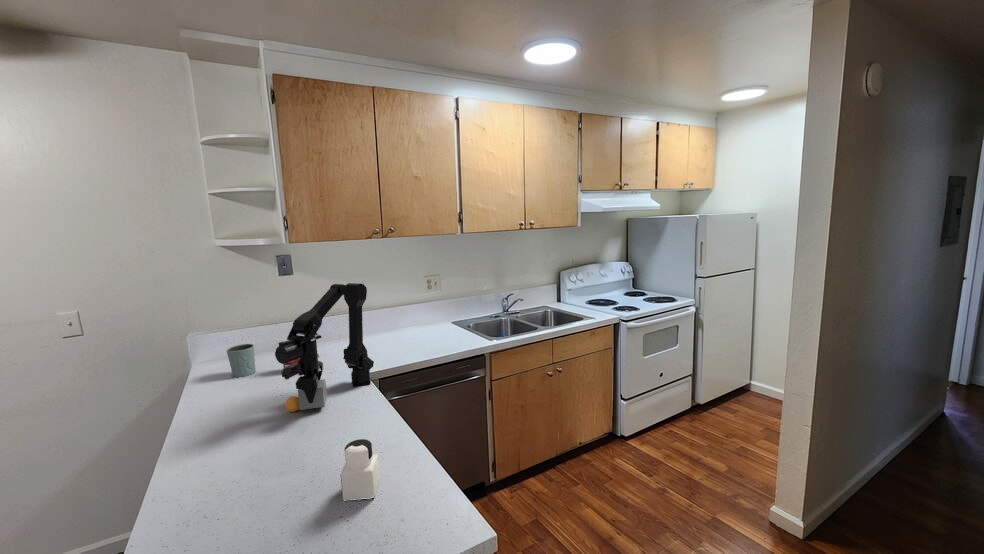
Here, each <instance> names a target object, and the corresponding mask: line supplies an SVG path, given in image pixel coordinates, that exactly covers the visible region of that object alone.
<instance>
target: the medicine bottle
mask: <svg viewBox="0 0 984 554" xmlns="http://www.w3.org/2000/svg"><path fill="white" fill-rule="evenodd" d="M372 444H373V443H372V442H371V441H370V440H369V439H366V438H360V439H356V440H352V441H350V442H349V443H347V444H346V445H345V447H344V457H345V458H344V459H345V463H344V465H343V468H342V469H341V471H340V483H341V484H340V485H341V494H342V501H343V500H351V499H352V500H353V499H361V498H370V497H374V496H375V497H376V495H375V493H376V494H377V492H376V490H377V491H378V488H377V486H378V487H379V485H378V483H379V484H380V481H379V479H380V480H381V478H380V467H379V454H377V453H375V454H374V453H373V445H372Z"/></svg>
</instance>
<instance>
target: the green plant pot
mask: <svg viewBox="0 0 984 554" xmlns="http://www.w3.org/2000/svg"><path fill="white" fill-rule="evenodd" d="M226 355H227V358H228V362H229V367H230V369H231V370H230V371H231V375H232V377H233V378H234V377H242V378H246V376H247V377H250V376H253V375H254V374H256V372H257V371H256V359H255V345H254V344H253V343H242V344H236V345H233V346H231V347H228V348H226ZM252 374H253V375H252ZM249 375H250V376H249Z"/></svg>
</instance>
